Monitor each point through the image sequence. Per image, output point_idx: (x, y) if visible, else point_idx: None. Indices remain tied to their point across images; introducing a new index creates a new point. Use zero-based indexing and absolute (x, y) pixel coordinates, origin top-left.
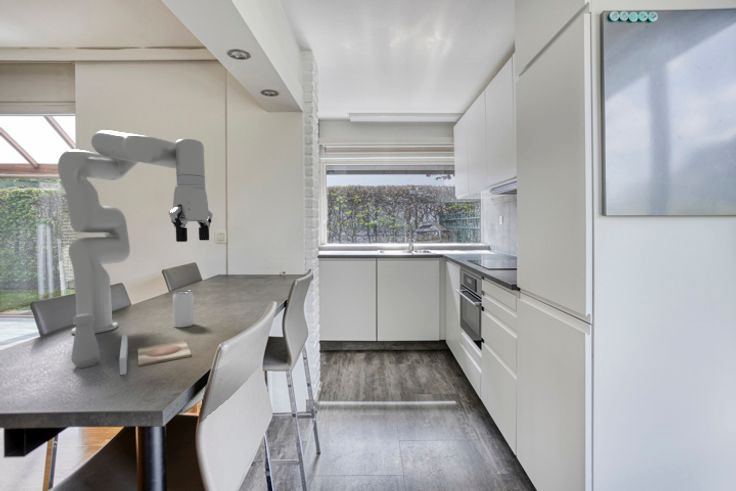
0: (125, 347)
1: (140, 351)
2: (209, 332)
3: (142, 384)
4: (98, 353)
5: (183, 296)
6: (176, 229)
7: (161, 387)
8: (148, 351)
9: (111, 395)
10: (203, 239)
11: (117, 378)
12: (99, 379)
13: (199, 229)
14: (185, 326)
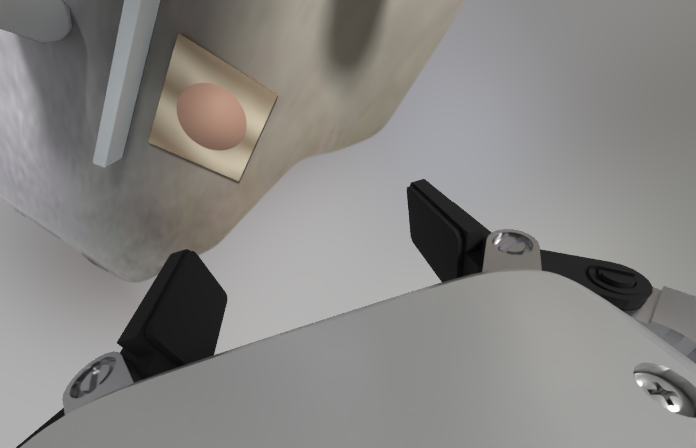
0: (117, 101)
1: (174, 68)
2: (350, 82)
3: (134, 216)
4: (59, 36)
5: None
6: (122, 349)
7: (153, 243)
8: (187, 90)
9: (87, 215)
10: (409, 217)
11: None
12: (73, 138)
13: (448, 234)
14: None
